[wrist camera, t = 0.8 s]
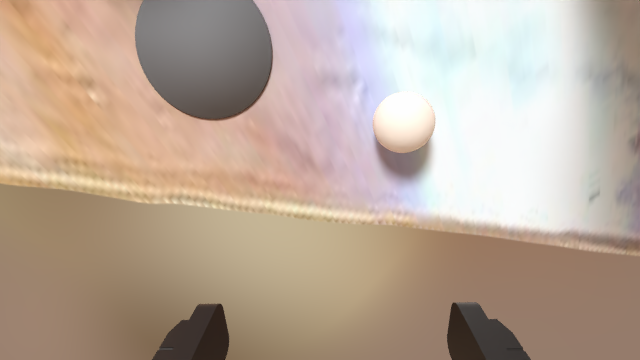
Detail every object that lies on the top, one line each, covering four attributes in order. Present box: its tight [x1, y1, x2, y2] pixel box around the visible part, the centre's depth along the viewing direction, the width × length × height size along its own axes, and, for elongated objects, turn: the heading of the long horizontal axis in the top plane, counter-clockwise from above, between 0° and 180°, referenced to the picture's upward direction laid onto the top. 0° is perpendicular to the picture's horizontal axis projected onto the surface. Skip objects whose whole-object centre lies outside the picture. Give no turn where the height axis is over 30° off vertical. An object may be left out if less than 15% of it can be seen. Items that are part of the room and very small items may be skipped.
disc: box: [135, 0, 272, 119], centre depth 29 cm, size 13×13×1 cm
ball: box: [373, 92, 435, 153], centre depth 28 cm, size 6×6×6 cm
